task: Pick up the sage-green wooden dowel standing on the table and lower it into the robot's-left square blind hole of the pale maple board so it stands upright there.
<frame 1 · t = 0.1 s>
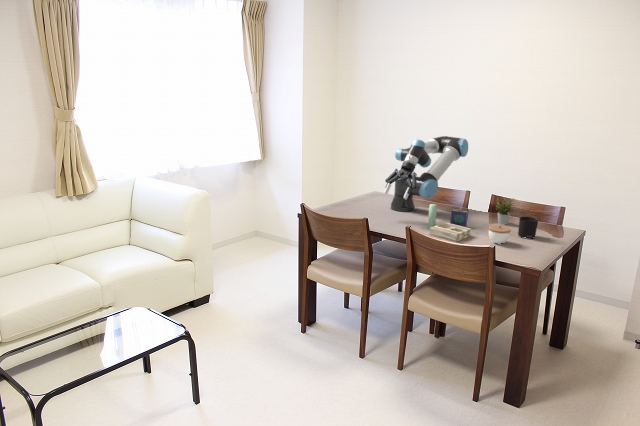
hand: (394, 196, 293), 15 cm above the table, tool tilted 35°, fingers open, 13 cm apart
dowel: (431, 229, 286), on the table
house plant: (504, 223, 302), on the table
lidded jar: (497, 242, 267), on the table
blue green box: (458, 226, 294), on the table
pen holder: (526, 236, 279), on the table
socket board: (449, 235, 276), on the table
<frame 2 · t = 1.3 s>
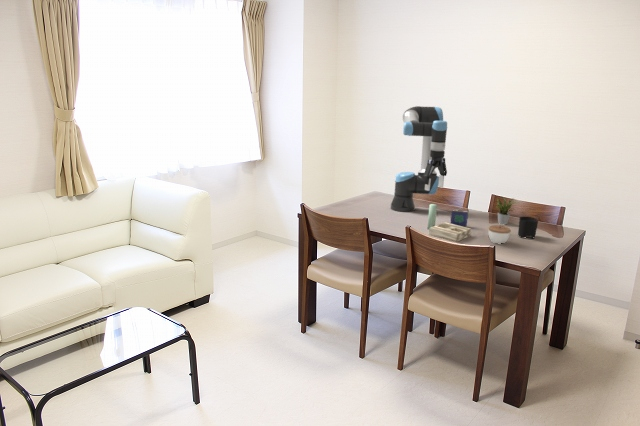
hand: (433, 188, 280), 23 cm above the table, tool pointing down, fingers open, 13 cm apart
nothing on the table moved.
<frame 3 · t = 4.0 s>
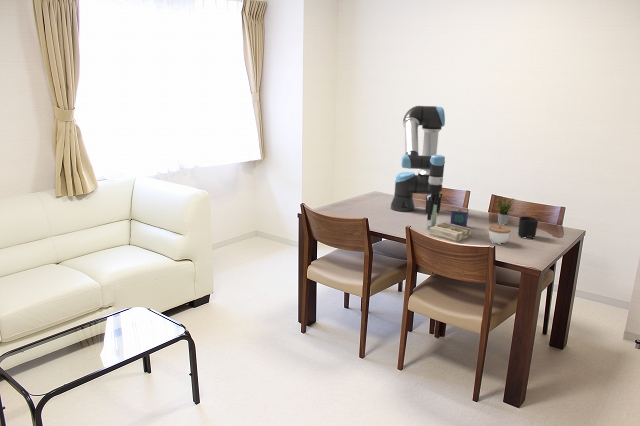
hand: (431, 224, 285), 3 cm above the table, tool pointing down, fingers closed on dowel, 4 cm apart
dowel: (431, 229, 286), on the table, touching gripper
everything else where it was.
when the fingers open (5 cm above the table, at t = 10.3 s): dowel stays where it is, resting on socket board.
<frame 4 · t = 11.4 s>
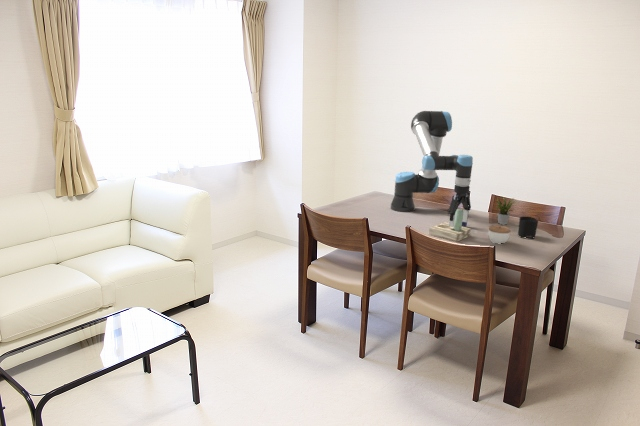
hand: (457, 224, 271), 7 cm above the table, tool pointing down, fingers open, 13 cm apart
dowel: (456, 235, 273), point 1 cm above the table, touching socket board
everything else where it was.
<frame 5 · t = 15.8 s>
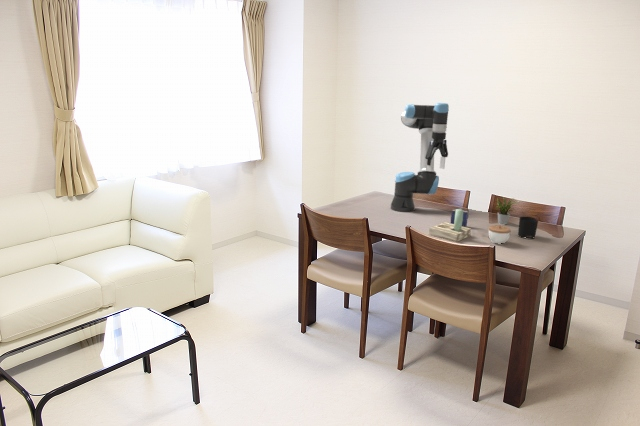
hand: (435, 169, 288), 32 cm above the table, tool pointing down, fingers open, 13 cm apart
nothing on the table moved.
at the end: dowel 0.1 cm from the target spot on the socket board, point 1.0 cm above the socket board's base; dowel tilted 0°; the gripper is holding nothing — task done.
